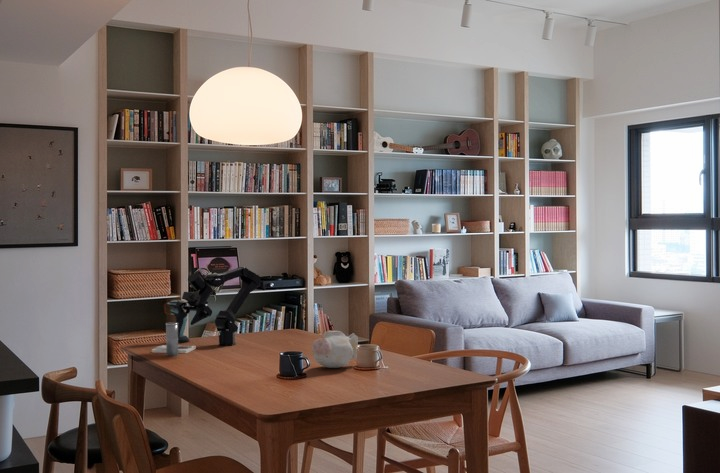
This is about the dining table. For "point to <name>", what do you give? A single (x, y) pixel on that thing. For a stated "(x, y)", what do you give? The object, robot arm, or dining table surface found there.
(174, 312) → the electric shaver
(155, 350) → the dial scale
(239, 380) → the dining table surface
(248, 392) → the dining table surface
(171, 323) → the metal tumbler
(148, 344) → the dining table surface
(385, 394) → the dining table surface
